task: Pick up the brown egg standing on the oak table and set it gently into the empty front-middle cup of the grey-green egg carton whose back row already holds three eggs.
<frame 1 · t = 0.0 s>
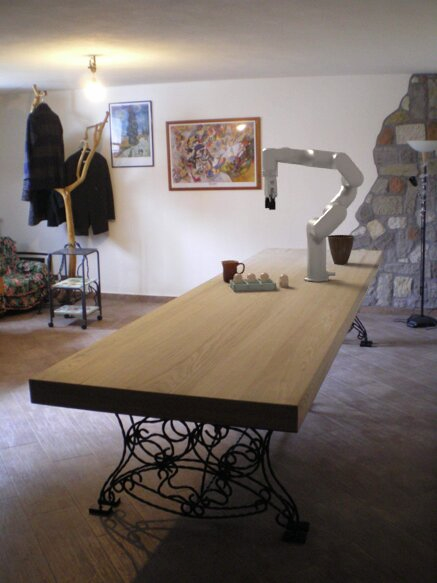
hand: (270, 209, 326), 37 cm above the table, tool pointing down, fingers open, 9 cm apart
plant pot: (340, 263, 383), on the table
egg: (283, 286, 321), on the table
carton: (252, 288, 319), on the table
mug: (233, 281, 337), on the table
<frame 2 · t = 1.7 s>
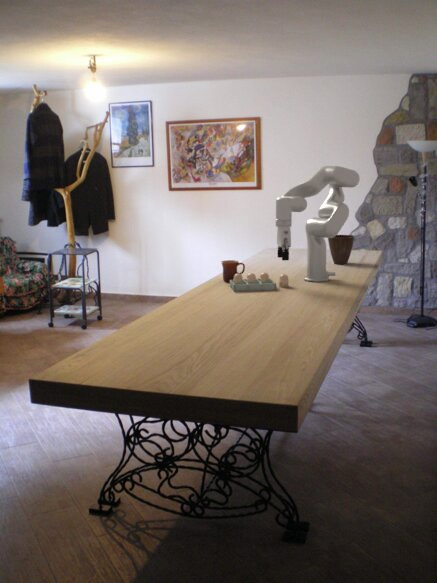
hand: (283, 258, 318), 14 cm above the table, tool pointing down, fingers open, 9 cm apart
nothing on the table moved.
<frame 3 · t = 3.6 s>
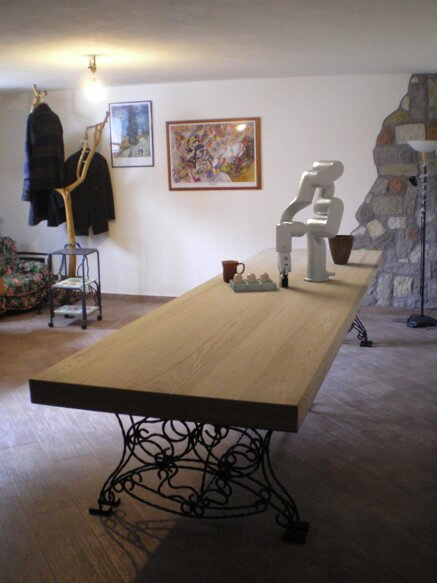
hand: (283, 285, 321), 1 cm above the table, tool pointing down, fingers closed on egg, 4 cm apart
egg: (283, 286, 321), on the table, touching gripper
everything else where it was.
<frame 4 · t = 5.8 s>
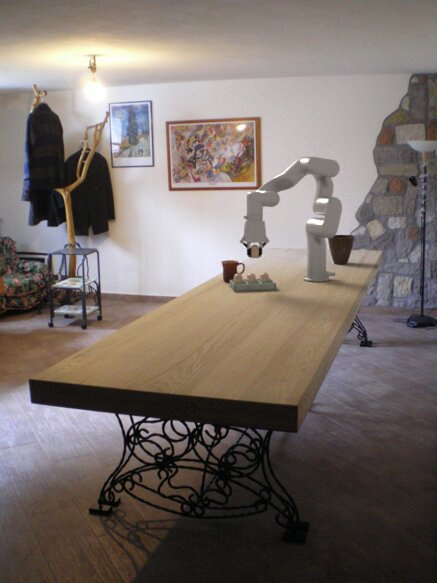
hand: (254, 256, 313), 16 cm above the table, tool pointing down, fingers closed on egg, 4 cm apart
egg: (254, 257, 313), point 15 cm above the table, touching gripper
everything else where it was.
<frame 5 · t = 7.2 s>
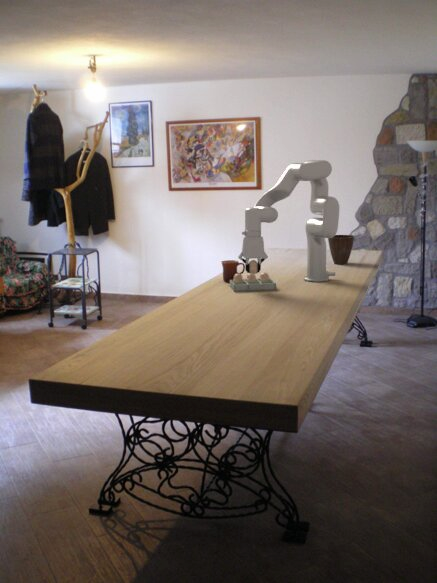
hand: (253, 271, 314), 9 cm above the table, tool pointing down, fingers closed on egg, 4 cm apart
egg: (253, 272, 314), point 8 cm above the table, touching gripper
everything else where it was.
when the fingers open (4 cm above the table, at t = 8.3 s): egg drops 3 cm, resting on carton.
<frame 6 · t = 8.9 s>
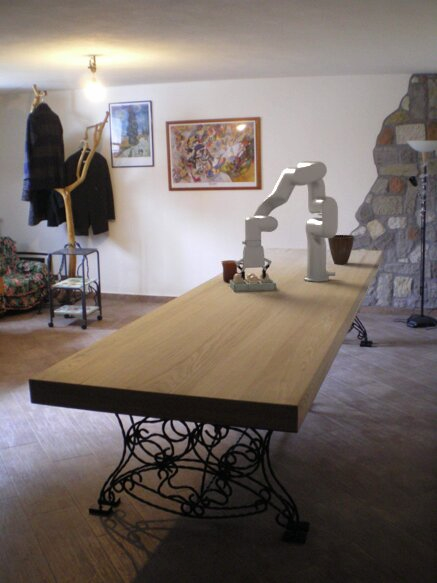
hand: (253, 278, 315), 5 cm above the table, tool pointing down, fingers open, 9 cm apart
egg: (253, 288, 316), point 1 cm above the table, touching carton
everything else where it was.
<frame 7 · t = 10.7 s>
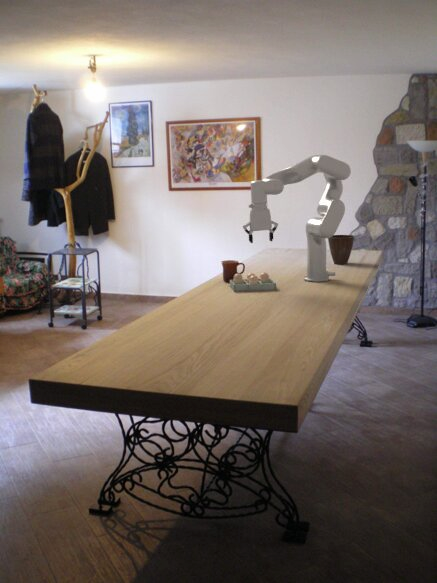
hand: (261, 241, 319), 22 cm above the table, tool pointing down, fingers open, 9 cm apart
nothing on the table moved.
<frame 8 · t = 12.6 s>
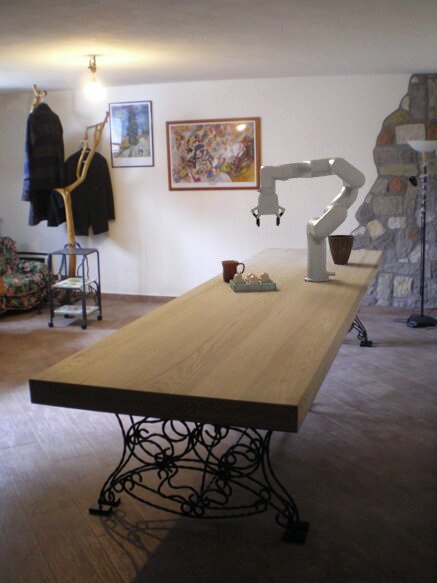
hand: (268, 226, 327), 28 cm above the table, tool pointing down, fingers open, 9 cm apart
nothing on the table moved.
at the end: egg 0.0 cm from the target spot on the carton, point 0.6 cm above the carton's base; egg tilted 1°; the gripper is holding nothing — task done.
